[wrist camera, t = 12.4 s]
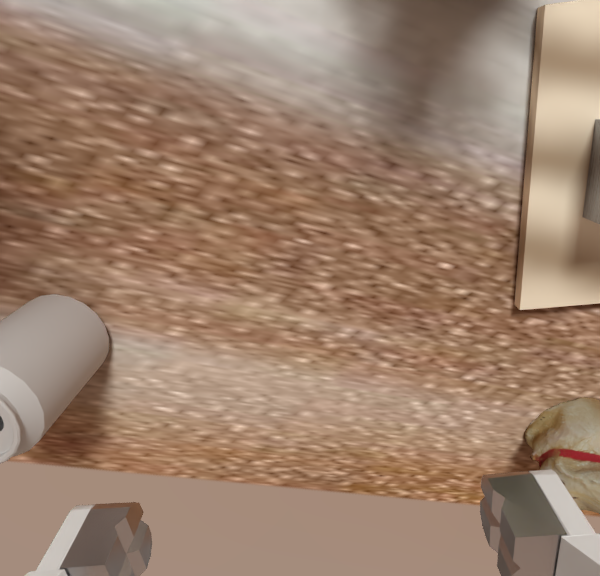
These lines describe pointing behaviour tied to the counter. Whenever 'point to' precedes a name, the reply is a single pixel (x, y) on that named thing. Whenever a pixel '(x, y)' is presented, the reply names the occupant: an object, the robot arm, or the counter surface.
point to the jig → (560, 161)
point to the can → (44, 366)
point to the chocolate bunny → (570, 448)
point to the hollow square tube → (593, 179)
